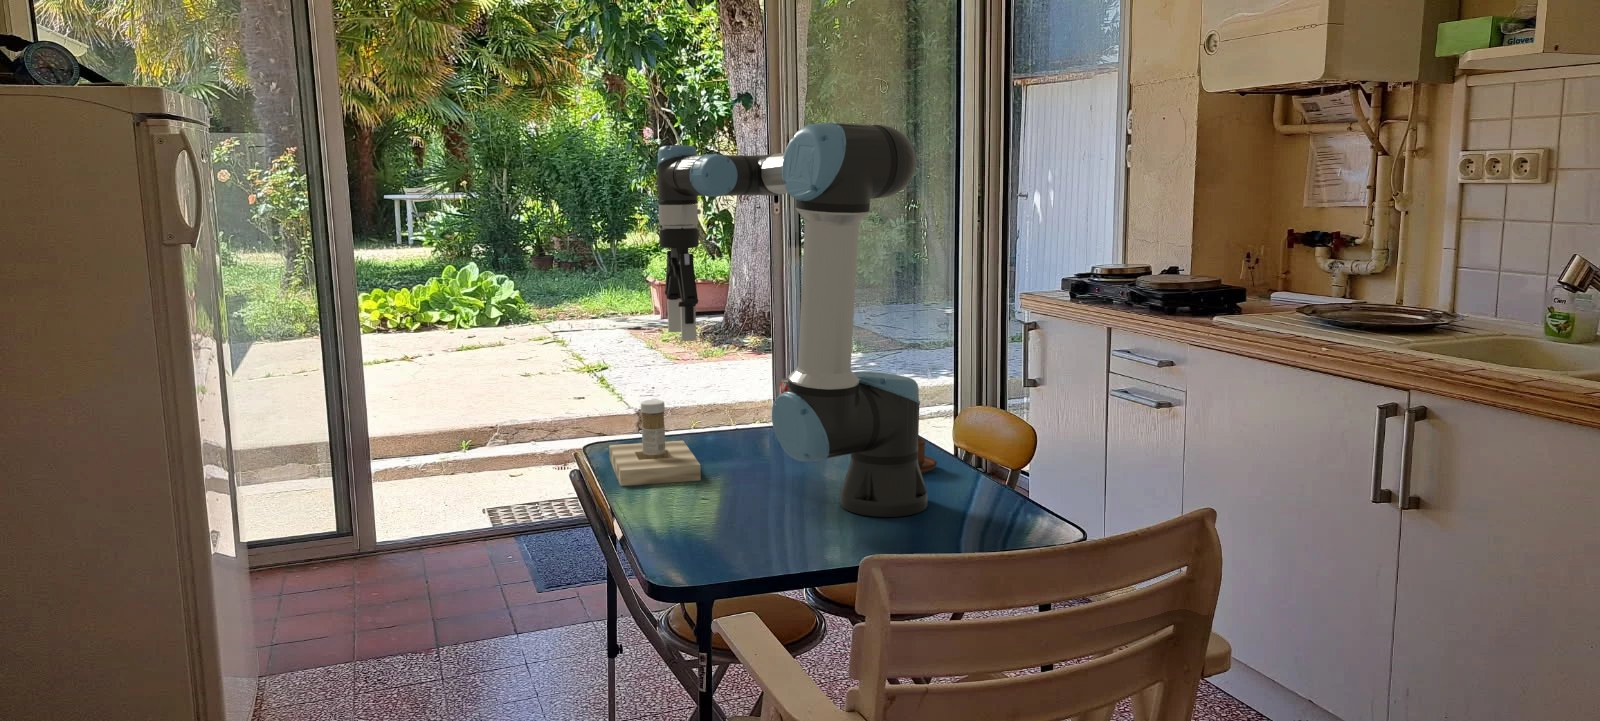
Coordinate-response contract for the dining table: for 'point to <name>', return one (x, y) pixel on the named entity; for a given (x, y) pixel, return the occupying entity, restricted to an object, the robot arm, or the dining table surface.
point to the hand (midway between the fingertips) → (681, 336)
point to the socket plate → (654, 464)
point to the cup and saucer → (924, 458)
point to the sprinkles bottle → (653, 429)
